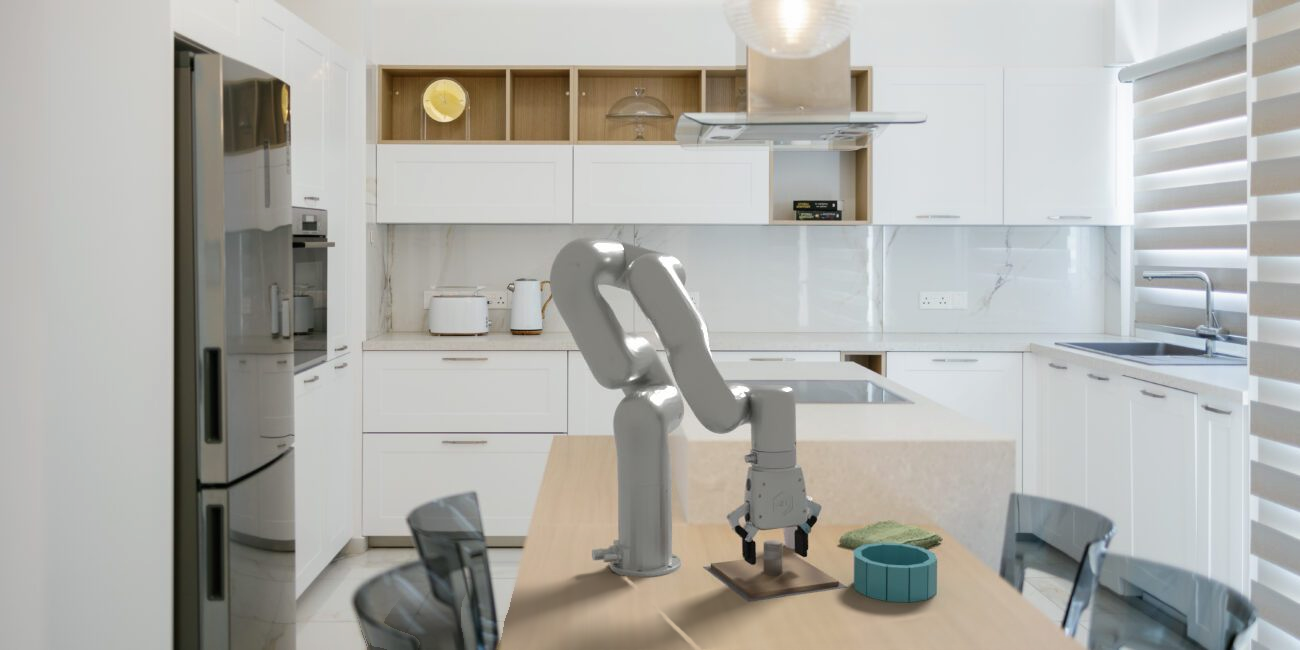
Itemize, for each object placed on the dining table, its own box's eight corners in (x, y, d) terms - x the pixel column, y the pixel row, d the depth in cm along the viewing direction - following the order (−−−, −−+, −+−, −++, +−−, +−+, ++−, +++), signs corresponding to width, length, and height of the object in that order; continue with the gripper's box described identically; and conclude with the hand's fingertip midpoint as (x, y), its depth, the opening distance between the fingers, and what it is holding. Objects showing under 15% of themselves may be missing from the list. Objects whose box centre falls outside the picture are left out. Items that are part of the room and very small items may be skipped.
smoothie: (812, 554, 174) (812, 479, 173) (777, 552, 175) (777, 478, 174) (813, 544, 180) (813, 471, 179) (779, 542, 182) (779, 470, 181)
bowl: (883, 609, 147) (883, 571, 146) (838, 582, 159) (839, 547, 158) (952, 598, 151) (953, 561, 151) (904, 573, 163) (904, 539, 163)
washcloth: (946, 544, 181) (946, 528, 181) (892, 565, 169) (892, 547, 169) (888, 530, 191) (888, 514, 191) (833, 548, 179) (833, 531, 179)
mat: (748, 604, 149) (748, 601, 149) (703, 569, 166) (703, 567, 166) (847, 590, 155) (847, 587, 155) (794, 557, 172) (794, 555, 172)
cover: (751, 598, 150) (751, 562, 150) (710, 568, 165) (710, 535, 165) (838, 585, 156) (839, 551, 155) (791, 557, 171) (792, 526, 170)
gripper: (736, 468, 153) (739, 572, 154) (830, 458, 159) (831, 558, 160) (717, 459, 160) (720, 559, 161) (808, 450, 166) (809, 546, 167)
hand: (775, 558), depth 160 cm, fingers open, 9 cm apart
